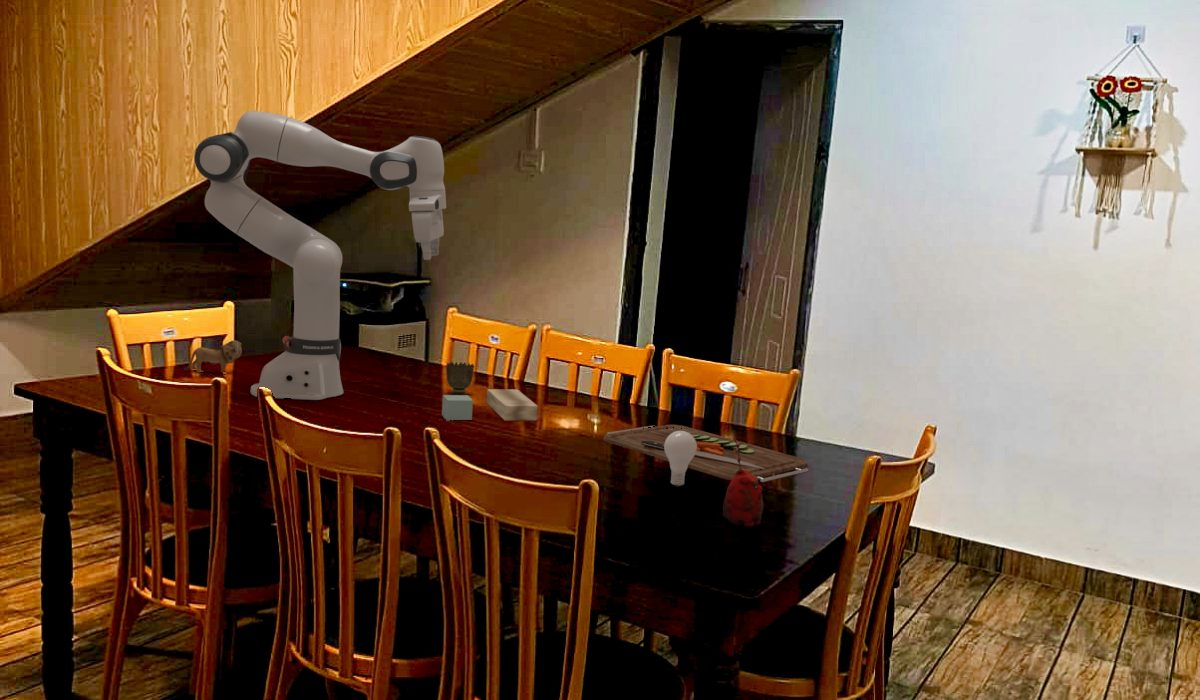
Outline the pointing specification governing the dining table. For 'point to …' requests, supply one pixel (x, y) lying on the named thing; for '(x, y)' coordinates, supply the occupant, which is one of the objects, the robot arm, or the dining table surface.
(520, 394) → the board
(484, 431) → the dining table surface
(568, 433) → the dining table surface
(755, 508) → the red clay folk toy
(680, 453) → the lightbulb
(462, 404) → the block
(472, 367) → the cup
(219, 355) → the lion figurine
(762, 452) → the chopping board
